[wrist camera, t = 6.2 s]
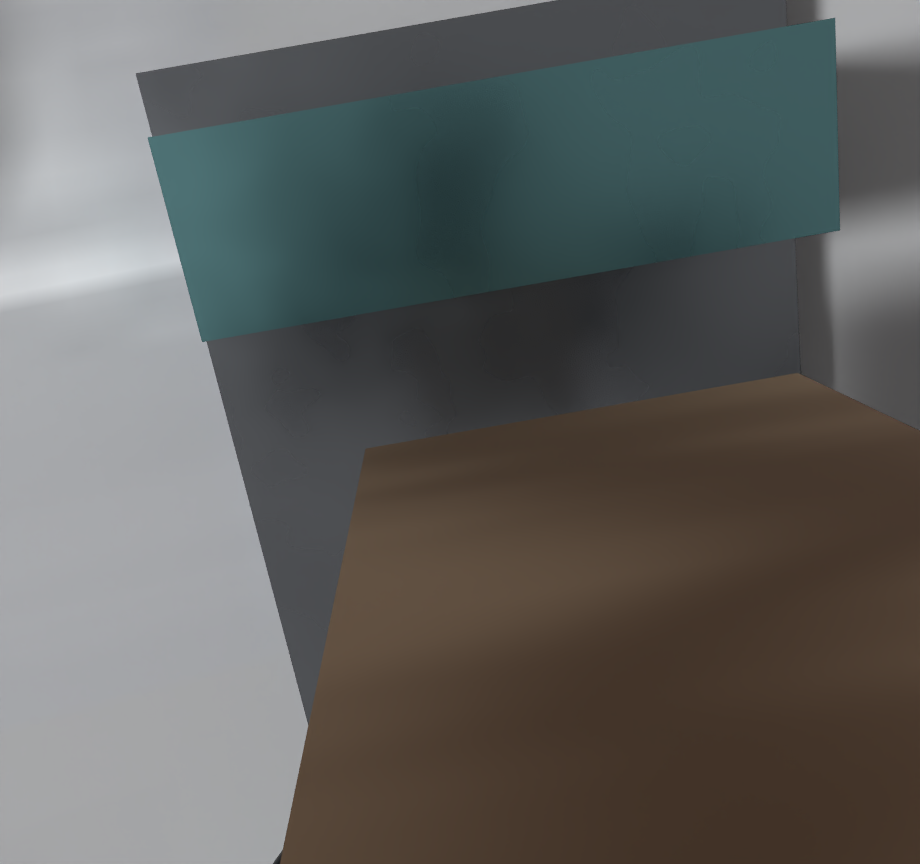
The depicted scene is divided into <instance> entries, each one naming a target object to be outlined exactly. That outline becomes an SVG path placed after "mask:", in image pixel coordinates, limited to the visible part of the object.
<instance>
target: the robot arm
mask: <svg viewBox="0 0 920 864" xmlns="http://www.w3.org/2000/svg"><path fill="white" fill-rule="evenodd" d="M282 852H283V850H282ZM282 852H281V853H280V854H279V856H278V857H277V859H276V860H275V861H274V863H273V864H280V862H281V857H282Z"/></svg>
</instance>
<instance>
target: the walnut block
mask: <svg viewBox="0 0 920 864" xmlns="http://www.w3.org/2000/svg"><path fill="white" fill-rule="evenodd" d="M280 864H920V431H919V430H917V429H915V428H913V427H911V426H909V425H906V424H904V423H902V422H900V421H898V420H896V419H894V418H892V417H890V416H888V415H885V414H883V413H881V412H879V411H877V410H875V409H873V408H871V407H869V406H866V405H864V404H862V403H860V402H858V401H856V400H854V399H852V398H850V397H848V396H845V395H843V394H841V393H839V392H837V391H835V390H833V389H831V388H829V387H826V386H824V385H822V384H820V383H818V382H816V381H814V380H812V379H810V378H808V377H805V376H803V375H801V374H799V373H794V374H789V375H783V376H777V377H772V378H766V379H760V380H754V381H749V382H743V383H737V384H732V385H726V386H720V387H714V388H709V389H703V390H697V391H692V392H686V393H680V394H674V395H669V396H663V397H657V398H652V399H646V400H640V401H634V402H629V403H623V404H617V405H612V406H606V407H600V408H595V409H589V410H583V411H577V412H572V413H566V414H560V415H555V416H549V417H543V418H537V419H532V420H526V421H520V422H515V423H509V424H503V425H497V426H492V427H486V428H480V429H475V430H469V431H463V432H457V433H452V434H446V435H440V436H435V437H429V438H423V439H417V440H412V441H406V442H400V443H395V444H389V445H383V446H377V447H372V448H366V449H365V453H364V458H363V463H362V468H361V473H360V478H359V482H358V487H357V492H356V497H355V502H354V507H353V512H352V516H351V521H350V526H349V531H348V536H347V541H346V546H345V551H344V555H343V560H342V565H341V570H340V575H339V580H338V585H337V589H336V594H335V599H334V604H333V609H332V614H331V619H330V623H329V628H328V633H327V638H326V643H325V648H324V653H323V657H322V662H321V667H320V672H319V677H318V682H317V687H316V691H315V696H314V701H313V706H312V711H311V716H310V721H309V725H308V730H307V735H306V740H305V745H304V750H303V755H302V760H301V764H300V769H299V774H298V779H297V784H296V789H295V794H294V798H293V803H292V808H291V813H290V818H289V823H288V828H287V832H286V837H285V842H284V847H283V852H282V857H281V862H280Z"/></svg>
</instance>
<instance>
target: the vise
mask: <svg viewBox="0 0 920 864" xmlns="http://www.w3.org/2000/svg"><path fill="white" fill-rule="evenodd" d="M136 76H137V80H138V84H139V88H140V92H141V95H142V99H143V103H144V107H145V110H146V114H147V118H148V122H149V125H150V129H151V133H152V137H148V141H149V145H150V148H151V152H152V156H153V160H154V163H155V167H156V171H157V175H158V178H159V182H160V186H161V190H162V193H163V197H164V201H165V205H166V208H167V212H168V216H169V220H170V223H171V227H172V231H173V235H174V238H175V242H176V246H177V249H178V253H179V257H180V261H181V264H182V268H183V272H184V276H185V279H186V283H187V287H188V291H189V294H190V298H191V302H192V306H193V309H194V313H195V317H196V321H197V324H198V328H199V332H200V336H201V339H202V342H205V341H207V344H208V348H209V352H210V356H211V359H212V363H213V367H214V371H215V375H216V378H217V382H218V386H219V390H220V393H221V397H222V401H223V405H224V408H225V412H226V416H227V420H228V424H229V427H230V431H231V435H232V439H233V442H234V446H235V450H236V454H237V458H238V461H239V465H240V469H241V473H242V476H243V480H244V484H245V488H246V491H247V495H248V499H249V503H250V507H251V510H252V514H253V518H254V522H255V525H256V529H257V533H258V537H259V541H260V544H261V548H262V552H263V556H264V559H265V563H266V567H267V571H268V575H269V578H270V582H271V586H272V590H273V593H274V597H275V601H276V605H277V608H278V612H279V616H280V620H281V624H282V627H283V631H284V635H285V639H286V642H287V646H288V650H289V654H290V658H291V661H292V665H293V669H294V673H295V676H296V680H297V684H298V688H299V691H300V695H301V699H302V703H303V707H304V710H305V714H306V718H307V722H308V725H309V721H310V716H311V711H312V706H313V701H314V696H315V691H316V687H317V682H318V677H319V672H320V667H321V662H322V657H323V653H324V648H325V643H326V638H327V633H328V628H329V623H330V619H331V614H332V609H333V604H334V599H335V594H336V589H337V585H338V580H339V575H340V570H341V565H342V560H343V555H344V551H345V546H346V541H347V536H348V531H349V526H350V521H351V516H352V512H353V507H354V502H355V497H356V492H357V487H358V482H359V478H360V473H361V468H362V463H363V458H364V453H365V449H366V448H372V447H377V446H383V445H389V444H395V443H400V442H406V441H412V440H417V439H423V438H429V437H435V436H440V435H446V434H452V433H457V432H463V431H469V430H475V429H480V428H486V427H492V426H497V425H503V424H509V423H515V422H520V421H526V420H532V419H537V418H543V417H549V416H555V415H560V414H566V413H572V412H577V411H583V410H589V409H595V408H600V407H606V406H612V405H617V404H623V403H629V402H634V401H640V400H646V399H652V398H657V397H663V396H669V395H674V394H680V393H686V392H692V391H697V390H703V389H709V388H714V387H720V386H726V385H732V384H737V383H743V382H749V381H754V380H760V379H766V378H772V377H777V376H783V375H789V374H794V373H799V374H801V372H800V346H799V321H798V296H797V270H796V245H795V238H799V237H805V236H811V235H816V234H822V233H828V232H833V231H839V230H840V212H839V168H838V124H837V81H836V37H835V18H832V19H826V20H820V21H814V22H809V23H803V24H797V25H791V26H787V16H786V0H556V1H550V2H544V3H539V4H533V5H527V6H521V7H516V8H510V9H504V10H498V11H493V12H487V13H481V14H475V15H470V16H464V17H458V18H452V19H447V20H441V21H435V22H429V23H424V24H418V25H412V26H406V27H401V28H395V29H389V30H383V31H378V32H372V33H366V34H360V35H355V36H349V37H343V38H337V39H332V40H326V41H320V42H314V43H309V44H303V45H297V46H291V47H286V48H280V49H274V50H268V51H263V52H257V53H251V54H245V55H240V56H234V57H228V58H222V59H217V60H211V61H205V62H199V63H194V64H188V65H182V66H176V67H171V68H165V69H159V70H153V71H148V72H142V73H136Z"/></svg>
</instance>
